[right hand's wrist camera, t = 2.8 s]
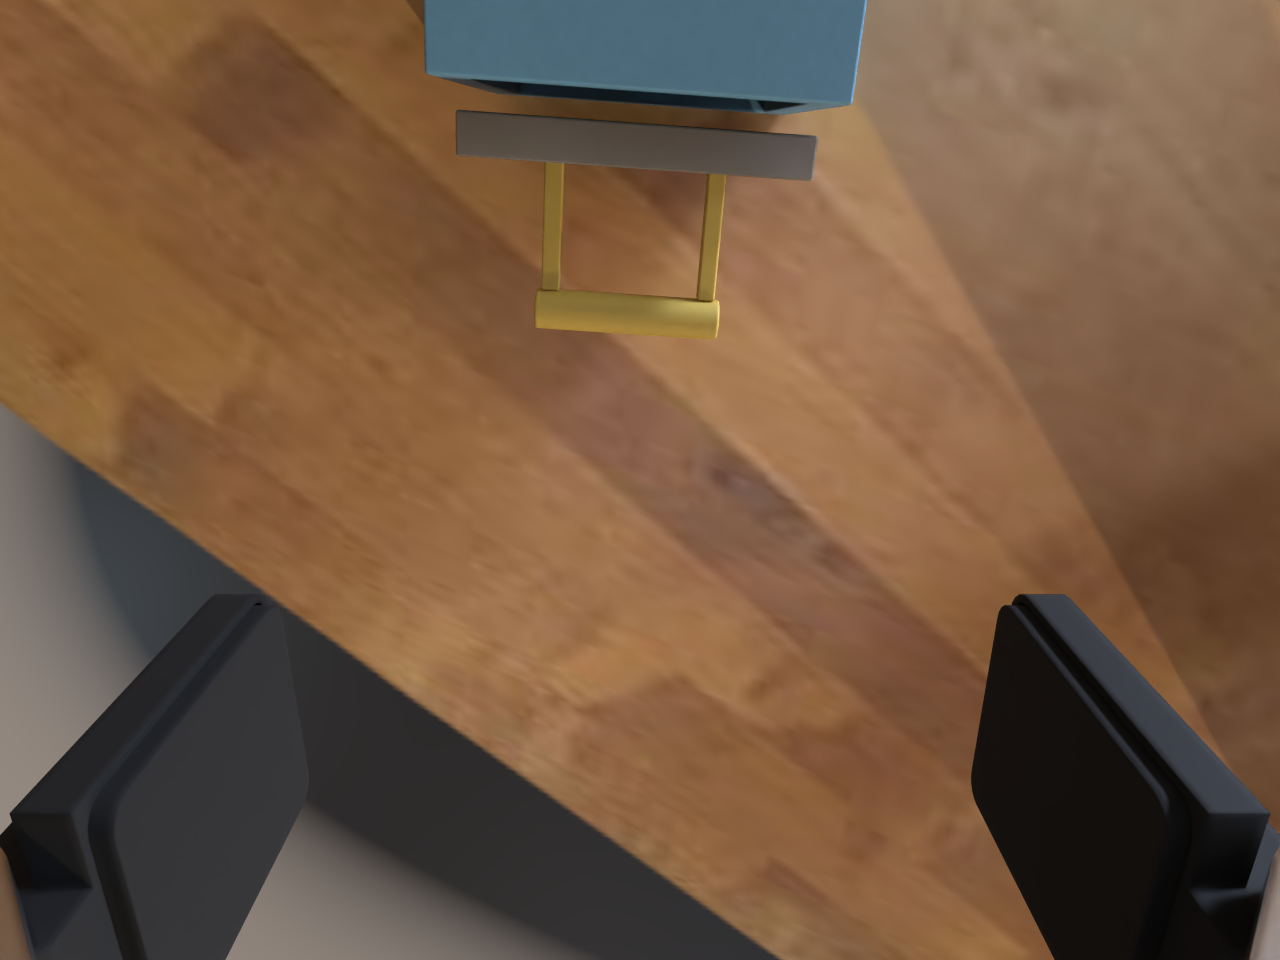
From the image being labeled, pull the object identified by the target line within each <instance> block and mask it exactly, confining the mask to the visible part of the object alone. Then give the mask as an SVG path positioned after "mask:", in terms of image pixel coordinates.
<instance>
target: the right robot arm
mask: <svg viewBox="0 0 1280 960" xmlns="http://www.w3.org/2000/svg"><path fill="white" fill-rule="evenodd" d="M308 785H309V774H308V767H307V761H306V755H305V749H304V743H303V737H302V731H301V725H300V719H299V713H298V707H297V701H296V695H295V689H294V684H293V677H292V672H291V665H290V660H289V654H288V648H287V642H286V636H285V630H284V624H283V618H282V614H281V611H280V609H279V607H277V606H276V605H268V602H267V600H266V599H265V597H264V596H262V595H261V594H217V595H214V596H212V597H211V598H210V599H209V600H208V601H207V602H206V603H205V604H204V605H203V606H202V607H201V608H200V610H199V611H198V612H197V613H196V614H195V615H194V616H193V617H192V618H191V619H190V620H189V621H188V622H187V623H186V625H185V626H184V627H183V628H182V629H181V630H180V631H179V632H178V633H177V634H176V635H175V636H174V637H173V638H172V640H171V641H170V642H169V643H168V644H167V645H166V646H165V647H164V648H163V649H162V650H161V651H160V652H159V654H158V655H157V656H156V657H155V658H154V659H153V660H152V661H151V662H150V663H149V664H148V665H147V666H146V667H145V669H144V670H143V671H142V672H141V673H140V674H139V675H138V676H137V677H136V678H135V679H134V680H133V681H132V683H131V684H130V685H129V686H128V687H127V688H126V689H125V690H124V691H123V692H122V693H121V694H120V695H119V696H118V698H117V699H116V700H115V701H114V702H113V703H112V704H111V705H110V706H109V707H108V708H107V709H106V710H105V712H104V713H103V714H102V715H101V716H100V717H99V718H98V719H97V720H96V721H95V722H94V723H93V724H92V725H91V727H90V728H89V729H88V730H87V731H86V732H85V733H84V734H83V735H82V736H81V737H80V738H79V739H78V741H77V742H76V743H75V744H74V745H73V746H72V747H71V748H70V749H69V750H68V751H67V752H66V753H65V754H64V756H63V757H62V758H61V759H60V760H59V761H58V762H57V763H56V764H55V765H54V766H53V767H52V768H51V770H50V771H49V772H48V773H47V774H46V775H45V776H44V777H43V778H42V779H41V780H40V781H39V782H38V783H37V785H36V786H35V787H34V788H33V789H32V790H31V791H30V792H29V793H28V794H27V795H26V796H25V797H24V799H23V800H22V801H21V802H20V803H19V804H18V805H17V806H16V807H15V808H14V809H13V810H12V811H11V812H10V816H11V819H12V823H11V824H10V825H9V826H8V827H7V828H6V829H5V831H4V832H3V833H2V834H1V835H0V960H225V959H226V957H227V955H228V953H229V951H230V949H231V947H232V945H233V943H234V941H235V939H236V937H237V935H238V933H239V931H240V930H241V928H242V926H243V924H244V921H245V920H246V918H247V916H248V914H249V912H250V910H251V908H252V906H253V904H254V902H255V900H256V898H257V896H258V894H259V892H260V890H261V888H262V886H263V884H264V882H265V880H266V878H267V876H268V874H269V872H270V870H271V868H272V866H273V864H274V862H275V860H276V858H277V856H278V854H279V852H280V850H281V848H282V846H283V844H284V842H285V840H286V838H287V836H288V834H289V832H290V830H291V828H292V826H293V824H294V822H295V820H296V818H297V816H298V814H299V812H300V810H301V808H302V806H303V804H304V802H305V799H306V796H307V792H308ZM971 785H972V792H973V796H974V799H975V802H976V804H977V806H978V808H979V810H980V812H981V814H982V816H983V818H984V820H985V822H986V824H987V826H988V828H989V830H990V832H991V834H992V836H993V838H994V840H995V842H996V844H997V846H998V848H999V850H1000V852H1001V854H1002V856H1003V858H1004V860H1005V862H1006V864H1007V866H1008V868H1009V870H1010V872H1011V874H1012V876H1013V878H1014V880H1015V882H1016V884H1017V886H1018V888H1019V890H1020V892H1021V894H1022V896H1023V898H1024V900H1025V902H1026V904H1027V906H1028V908H1029V910H1030V912H1031V914H1032V916H1033V918H1034V920H1035V922H1036V924H1037V926H1038V928H1039V930H1040V932H1041V934H1042V936H1043V937H1044V939H1045V941H1046V943H1047V945H1048V947H1049V949H1050V951H1051V953H1052V955H1053V957H1054V959H1055V960H1280V835H1279V834H1278V833H1277V832H1276V831H1275V829H1274V828H1273V827H1272V826H1271V825H1270V824H1269V823H1268V819H1269V816H1270V812H1269V811H1268V810H1267V809H1266V808H1265V807H1264V806H1263V805H1262V804H1261V803H1260V802H1259V801H1258V800H1257V799H1256V797H1255V796H1254V795H1253V794H1252V793H1251V792H1250V791H1249V790H1248V789H1247V788H1246V787H1245V786H1244V785H1243V783H1242V782H1241V781H1240V780H1239V779H1238V778H1237V777H1236V776H1235V775H1234V774H1233V773H1232V772H1231V771H1230V770H1229V768H1228V767H1227V766H1226V765H1225V764H1224V763H1223V762H1222V761H1221V760H1220V759H1219V758H1218V757H1217V756H1216V754H1215V753H1214V752H1213V751H1212V750H1211V749H1210V748H1209V747H1208V746H1207V745H1206V744H1205V743H1204V742H1203V741H1202V739H1201V738H1200V737H1199V736H1198V735H1197V734H1196V733H1195V732H1194V731H1193V730H1192V729H1191V728H1190V727H1189V725H1188V724H1187V723H1186V722H1185V721H1184V720H1183V719H1182V718H1181V717H1180V716H1179V715H1178V714H1177V713H1176V712H1175V710H1174V709H1173V708H1172V707H1171V706H1170V705H1169V704H1168V703H1167V702H1166V701H1165V700H1164V699H1163V698H1162V696H1161V695H1160V694H1159V693H1158V692H1157V691H1156V690H1155V689H1154V688H1153V687H1152V686H1151V685H1150V684H1149V683H1148V681H1147V680H1146V679H1145V678H1144V677H1143V676H1142V675H1141V674H1140V673H1139V672H1138V671H1137V670H1136V669H1135V667H1134V666H1133V665H1132V664H1131V663H1130V662H1129V661H1128V660H1127V659H1126V658H1125V657H1124V656H1123V655H1122V654H1121V652H1120V651H1119V650H1118V649H1117V648H1116V647H1115V646H1114V645H1113V644H1112V643H1111V642H1110V641H1109V640H1108V638H1107V637H1106V636H1105V635H1104V634H1103V633H1102V632H1101V631H1100V630H1099V629H1098V628H1097V627H1096V626H1095V625H1094V623H1093V622H1092V621H1091V620H1090V619H1089V618H1088V617H1087V616H1086V615H1085V614H1084V613H1083V612H1082V611H1081V609H1080V608H1079V607H1078V606H1077V605H1076V604H1075V603H1074V602H1073V601H1072V600H1071V599H1070V598H1069V597H1068V596H1066V595H1063V594H1019V595H1018V596H1016V597H1015V599H1014V600H1013V602H1012V605H1004V606H1003V607H1001V609H1000V611H999V614H998V618H997V624H996V630H995V636H994V642H993V648H992V654H991V660H990V665H989V671H988V677H987V683H986V689H985V695H984V701H983V707H982V713H981V719H980V725H979V731H978V737H977V743H976V749H975V755H974V760H973V766H972V774H971Z"/></svg>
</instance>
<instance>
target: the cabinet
mask: <svg viewBox="0 0 1280 960" xmlns="http://www.w3.org/2000/svg"><path fill="white" fill-rule="evenodd" d="M866 4H867V0H424V43H425V71H426V73H427V74H429V75H433V76H436V77H439V78H443V79H446V80H450V81H453V82H457V83H460V84H464V85H467V86H471V87H475V88H478V89H482V90H485V91H489V92H492V93H496V94H506V95H520V96H534V97H547V98H561V99H575V100H588V101H602V102H615V103H629V104H643V105H656V106H670V107H684V108H697V109H711V110H725V111H738V112H752V113H765V114H779V115H785V114H793V113H800V112H807V111H814V110H821V109H828V108H834V107H841V106H847V105H851V104H852V102H853V95H854V88H855V81H856V74H857V67H858V60H859V53H860V46H861V39H862V32H863V25H864V18H865V11H866Z"/></svg>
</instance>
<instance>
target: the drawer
mask: <svg viewBox="0 0 1280 960" xmlns="http://www.w3.org/2000/svg"><path fill="white" fill-rule="evenodd" d="M817 143H818V137H817V136H810V135H796V134H783V133H769V132H755V131H742V130H728V129H714V128H700V127H687V126H673V125H659V124H646V123H632V122H618V121H604V120H591V119H577V118H563V117H550V116H536V115H522V114H508V113H495V112H481V111H467V110H457V111H456V154H457V155H458V156H466V157H480V158H494V159H508V160H522V161H536V162H545V180H544V217H543V255H542V288H538V289H537V291H536V294H535V304H534V323H535V326H536V327H537V328H547V329H562V330H577V331H592V332H606V333H621V334H636V335H651V336H665V337H680V338H695V339H710V340H714V339H716V337H717V332H718V325H719V311H720V308H719V301H717V300H714V297H715V287H716V277H717V267H718V256H719V246H720V236H721V226H722V215H723V205H724V195H725V185H726V175H731V176H745V177H759V178H773V179H787V180H801V181H812V179H813V173H814V166H815V158H816V150H817ZM564 164H578V165H592V166H606V167H620V168H633V169H647V170H661V171H675V172H689V173H703V174H707V184H706V195H705V206H704V217H703V228H702V239H701V250H700V261H699V272H698V284H697V295H696V296H697V299H692V298H678V297H663V296H649V295H634V294H620V293H605V292H591V291H576V290H562V289H559V288H560V278H561V249H562V220H563V190H564Z"/></svg>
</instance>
